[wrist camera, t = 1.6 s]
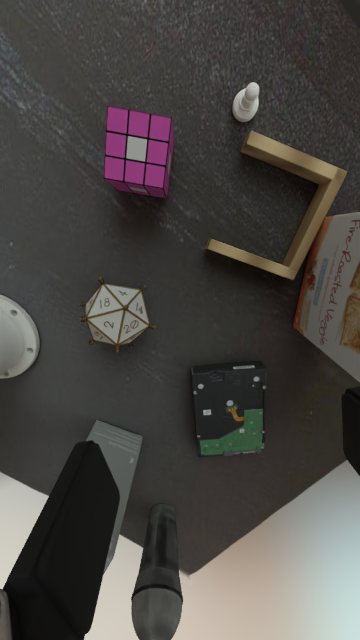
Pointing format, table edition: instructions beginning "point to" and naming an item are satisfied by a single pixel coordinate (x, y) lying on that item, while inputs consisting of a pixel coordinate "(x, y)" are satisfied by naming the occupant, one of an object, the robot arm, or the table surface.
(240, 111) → the chess pawn
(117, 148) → the puzzle toy
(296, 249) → the frame
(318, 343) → the cracker box
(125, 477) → the cosmetic box
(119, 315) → the game die
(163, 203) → the table surface
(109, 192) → the table surface
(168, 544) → the beverage cup
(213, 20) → the table surface
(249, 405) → the disk drive
